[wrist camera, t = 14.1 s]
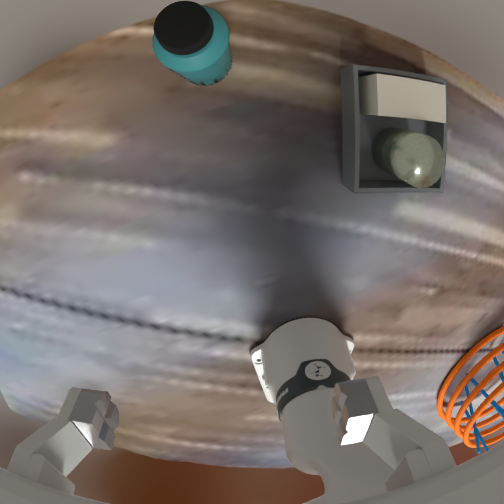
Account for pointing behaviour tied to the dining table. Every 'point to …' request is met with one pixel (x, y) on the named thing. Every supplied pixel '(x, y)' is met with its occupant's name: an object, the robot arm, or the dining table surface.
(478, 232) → the dining table surface
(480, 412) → the orange spiral coil rods
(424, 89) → the cream rectangular block
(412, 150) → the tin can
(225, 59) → the beverage bottle
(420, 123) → the tote
